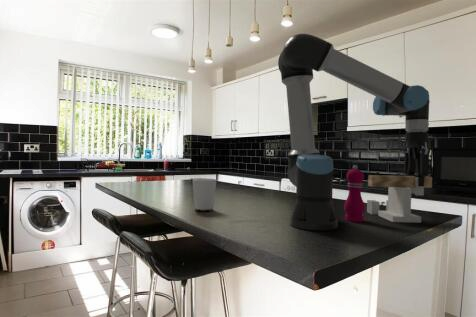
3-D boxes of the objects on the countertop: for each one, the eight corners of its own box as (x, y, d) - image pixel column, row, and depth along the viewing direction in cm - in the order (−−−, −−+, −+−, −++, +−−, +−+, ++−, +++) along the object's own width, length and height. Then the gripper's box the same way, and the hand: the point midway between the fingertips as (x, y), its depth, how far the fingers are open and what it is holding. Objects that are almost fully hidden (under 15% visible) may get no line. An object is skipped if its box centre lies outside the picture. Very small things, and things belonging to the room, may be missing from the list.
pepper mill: (361, 218, 119) (362, 164, 119) (367, 222, 112) (368, 165, 112) (341, 217, 120) (342, 164, 119) (346, 222, 113) (347, 165, 112)
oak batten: (371, 186, 118) (372, 175, 118) (368, 185, 121) (368, 175, 121) (431, 187, 118) (432, 177, 118) (426, 186, 121) (426, 176, 121)
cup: (188, 209, 134) (189, 178, 133) (211, 207, 138) (211, 178, 137) (196, 213, 125) (196, 180, 124) (219, 211, 129) (220, 180, 128)
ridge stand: (392, 222, 114) (393, 188, 114) (378, 215, 126) (378, 185, 126) (421, 222, 114) (421, 188, 114) (403, 216, 126) (404, 185, 125)
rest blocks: (371, 214, 128) (372, 201, 128) (366, 212, 133) (367, 200, 133) (399, 214, 128) (399, 202, 128) (393, 212, 133) (393, 200, 133)
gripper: (441, 130, 110) (440, 197, 111) (413, 133, 128) (412, 191, 128) (420, 129, 110) (418, 197, 111) (395, 133, 128) (393, 191, 128)
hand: (415, 194), depth 120 cm, fingers open, 5 cm apart
